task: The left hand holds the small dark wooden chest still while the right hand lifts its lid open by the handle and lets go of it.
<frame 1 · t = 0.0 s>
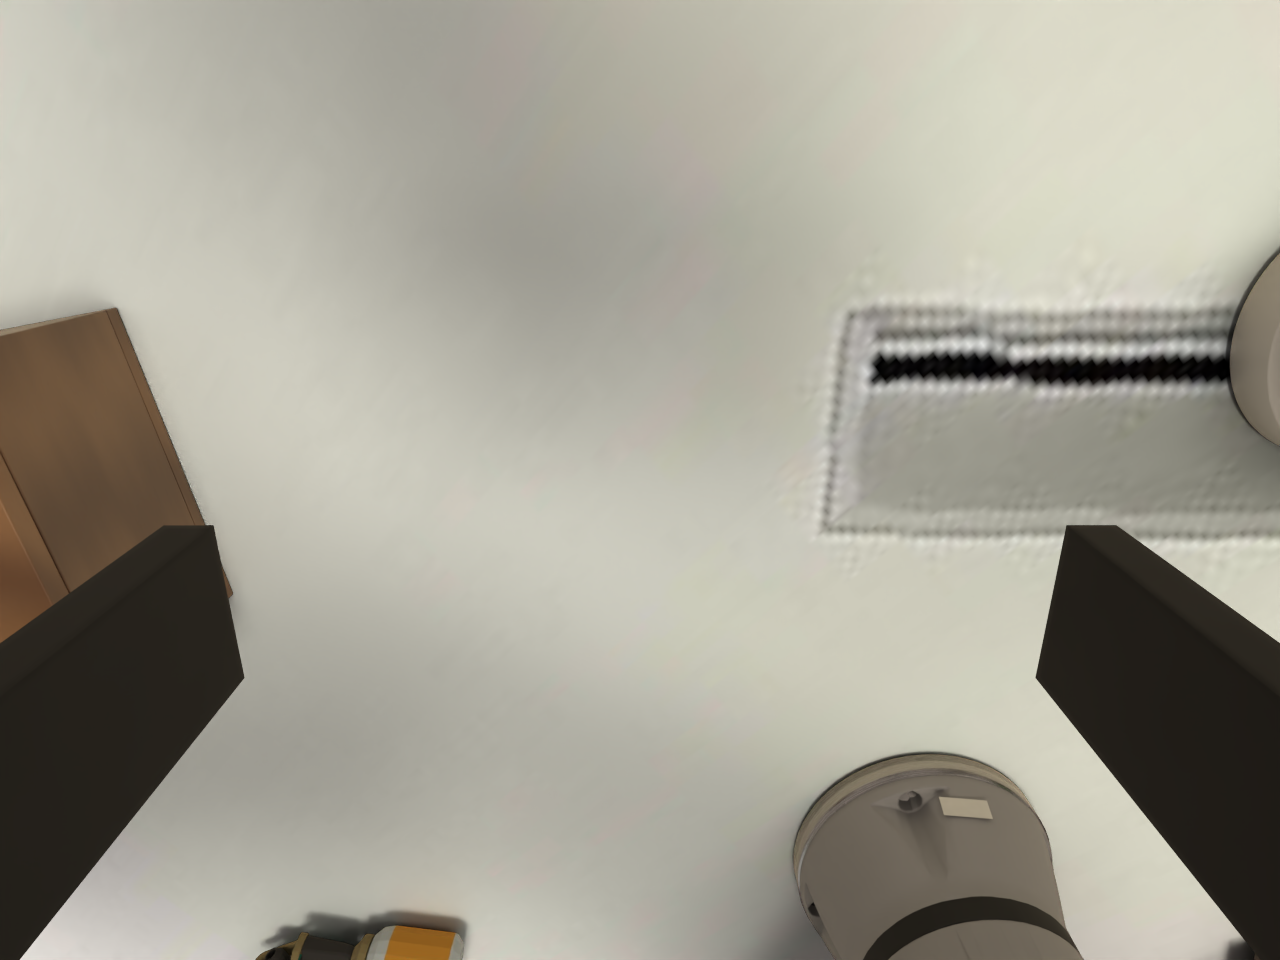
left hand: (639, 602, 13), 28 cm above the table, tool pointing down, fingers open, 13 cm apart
chest: (95, 475, 42), on the table
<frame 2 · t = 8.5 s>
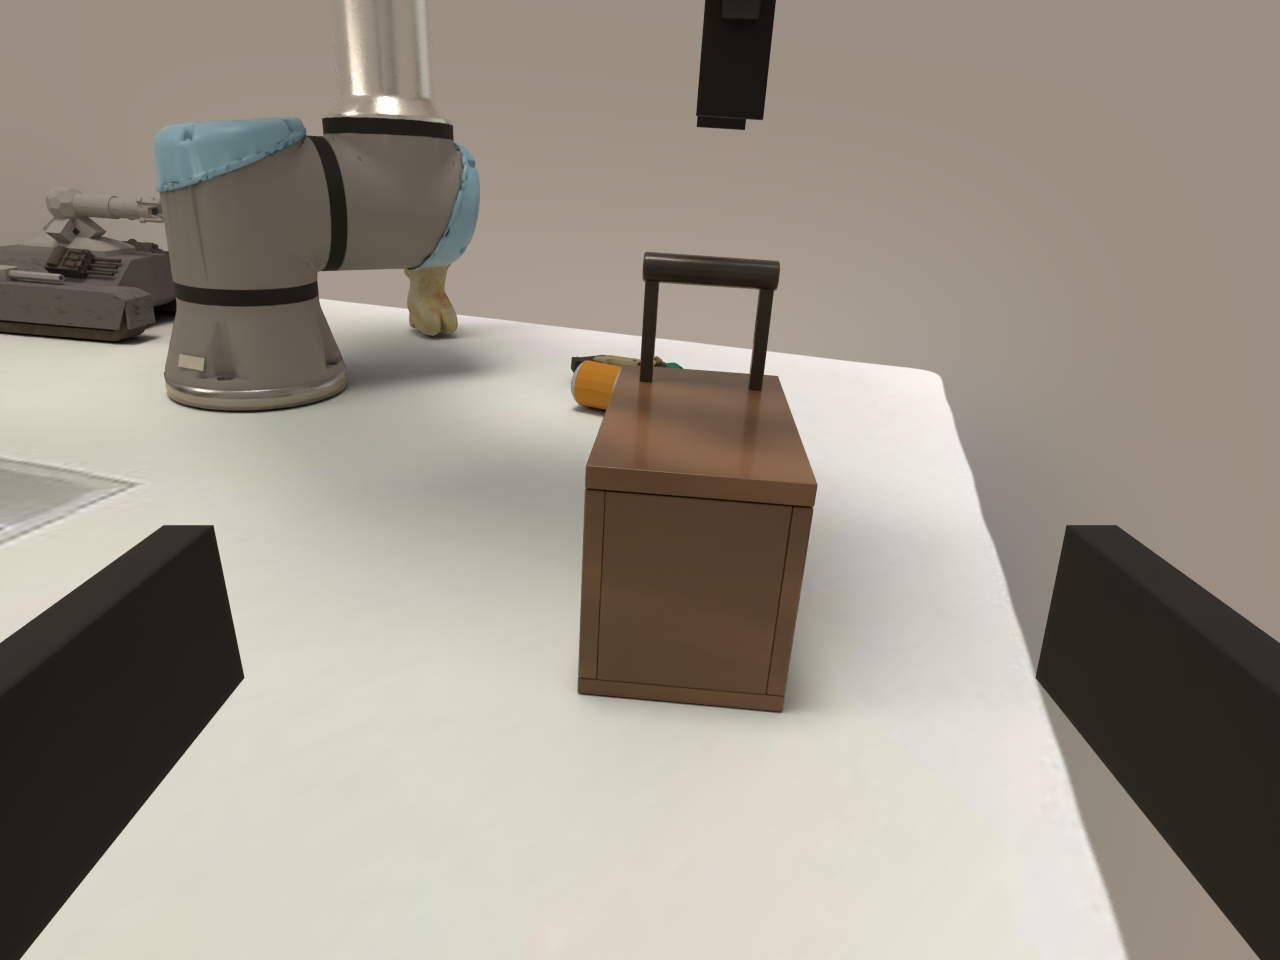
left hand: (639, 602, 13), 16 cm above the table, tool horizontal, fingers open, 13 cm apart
toy: (92, 319, 96), on the table
sculpture: (432, 333, 100), on the table
lid: (705, 353, 38), point 14 cm above the table, hinge at 0.0°
chest: (682, 609, 43), on the table
spray gun: (639, 398, 79), on the table
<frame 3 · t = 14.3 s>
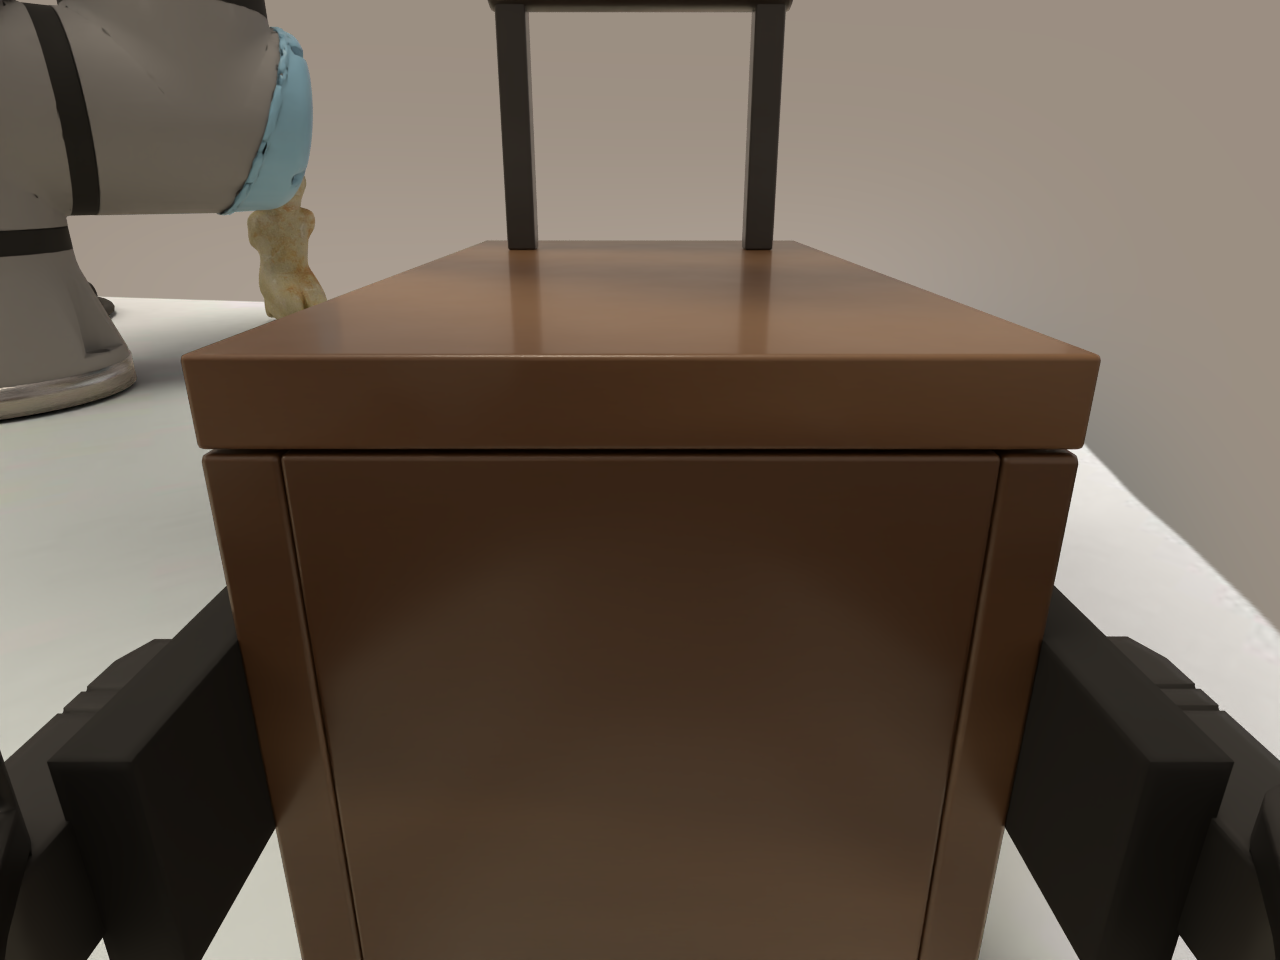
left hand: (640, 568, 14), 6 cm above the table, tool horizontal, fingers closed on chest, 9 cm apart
sculpture: (296, 323, 76), on the table
lid: (640, 105, 15), point 14 cm above the table, hinge at 0.0°
chest: (640, 743, 19), on the table, touching left hand
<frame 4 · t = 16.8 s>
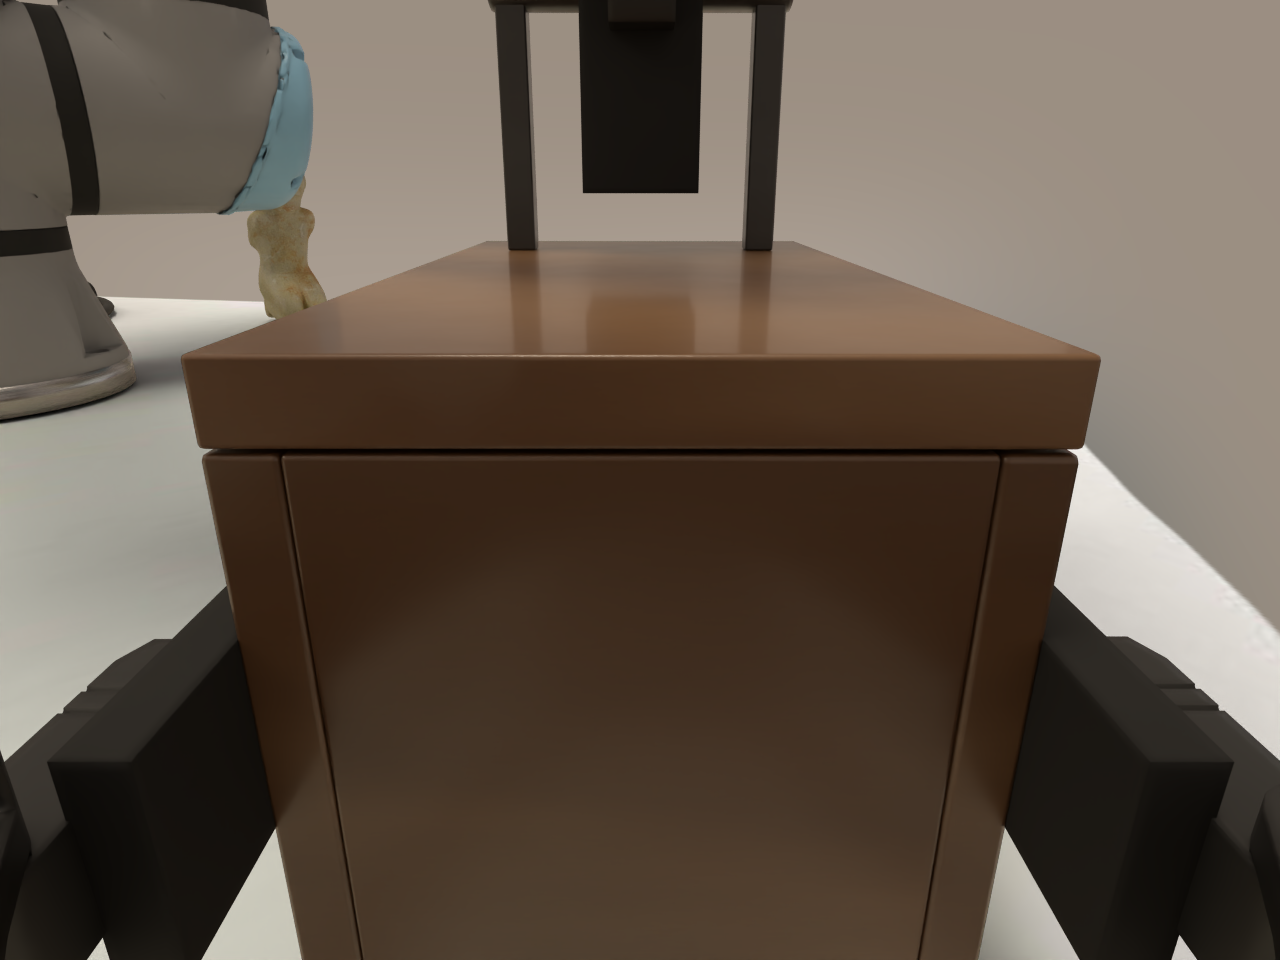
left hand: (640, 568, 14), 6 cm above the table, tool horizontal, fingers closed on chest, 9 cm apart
sculpture: (296, 323, 76), on the table
lid: (640, 106, 15), point 14 cm above the table, hinge at -0.1°, touching right hand
chest: (640, 743, 19), on the table, touching left hand
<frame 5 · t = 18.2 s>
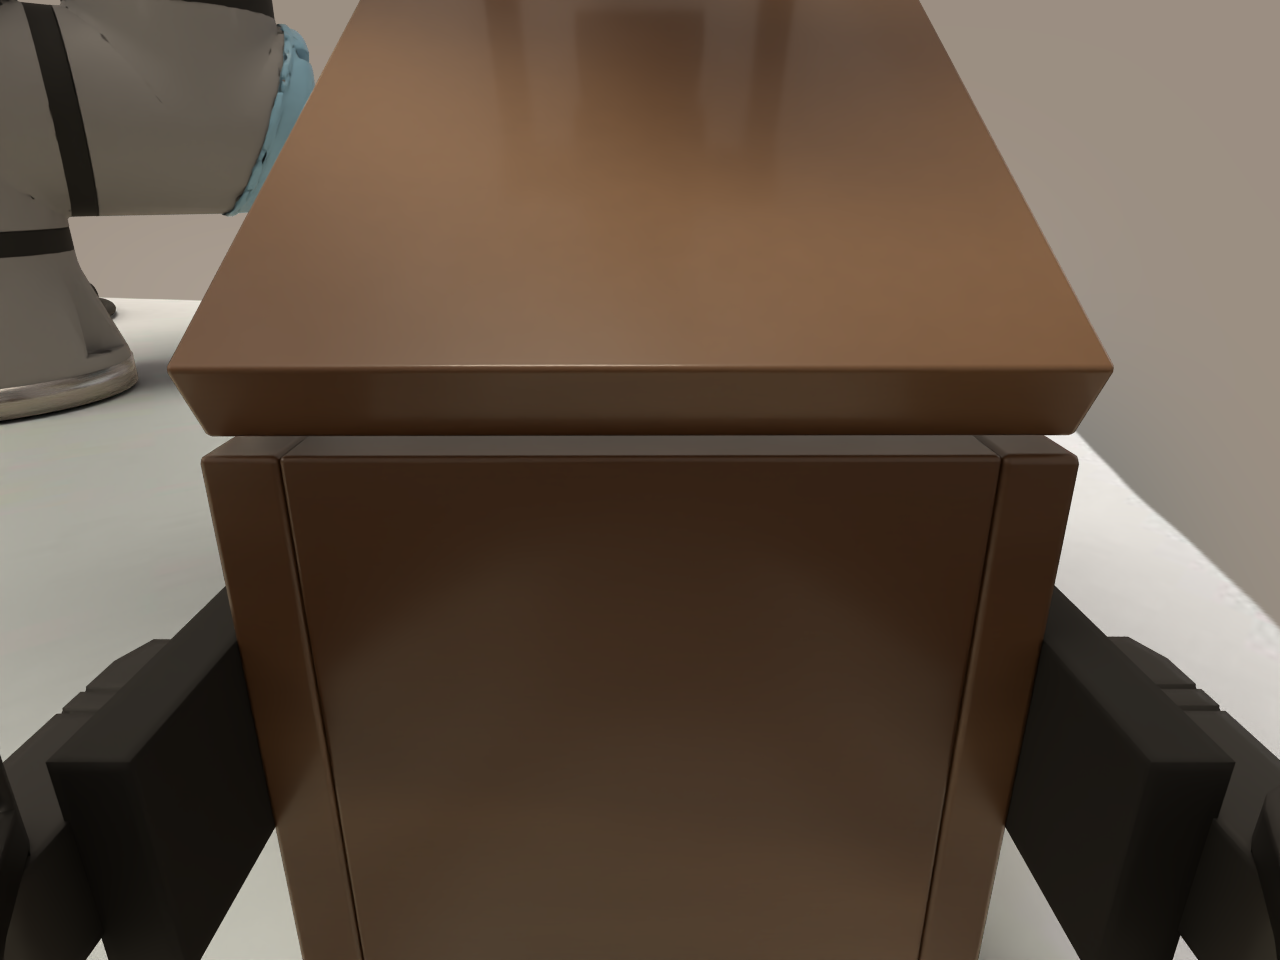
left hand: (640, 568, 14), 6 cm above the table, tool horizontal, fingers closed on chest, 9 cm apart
chest: (640, 741, 19), on the table, touching left hand
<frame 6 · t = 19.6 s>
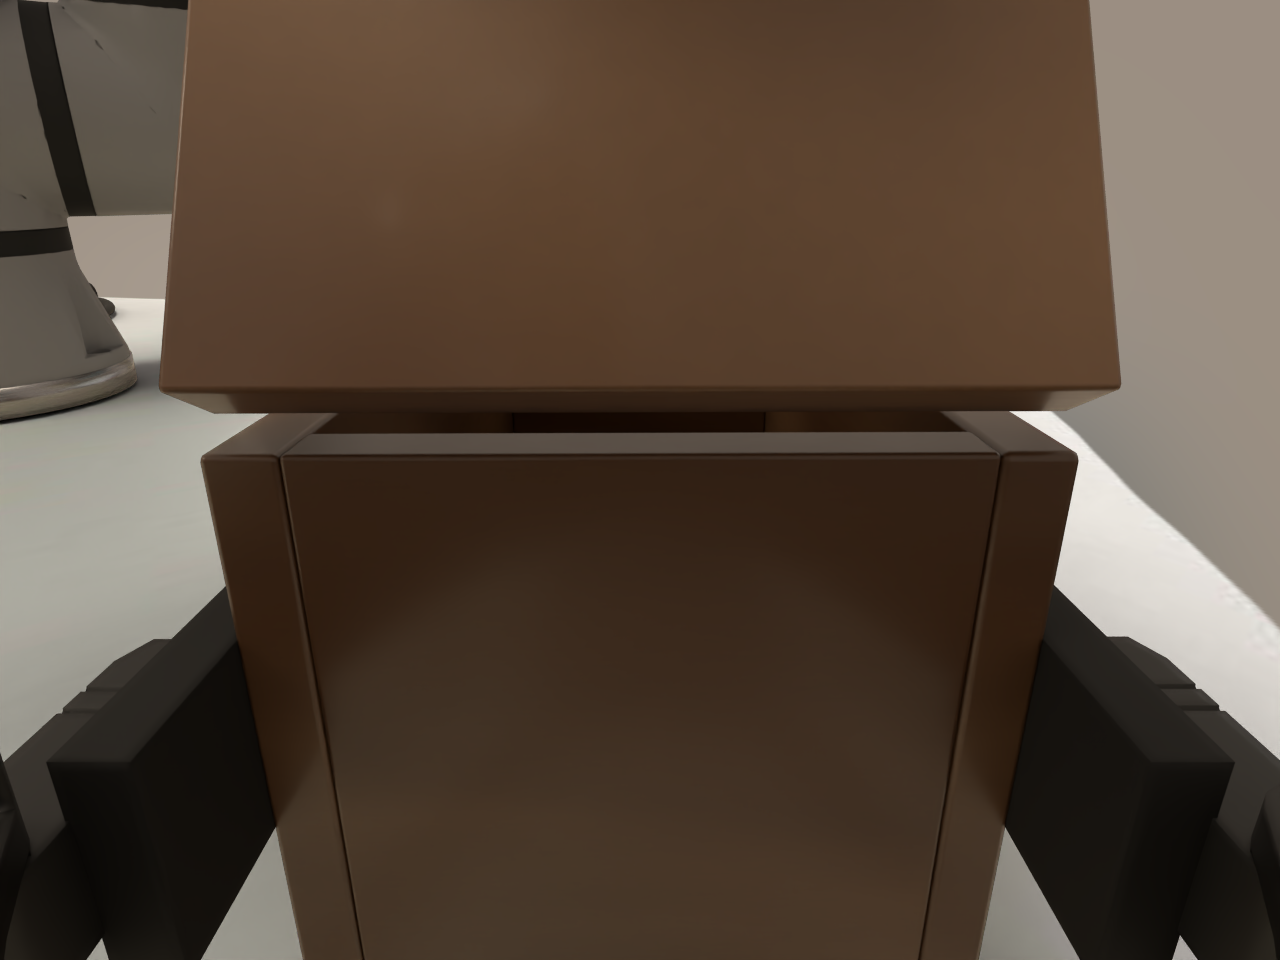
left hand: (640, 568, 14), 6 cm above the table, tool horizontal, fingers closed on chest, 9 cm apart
chest: (640, 741, 19), on the table, touching left hand
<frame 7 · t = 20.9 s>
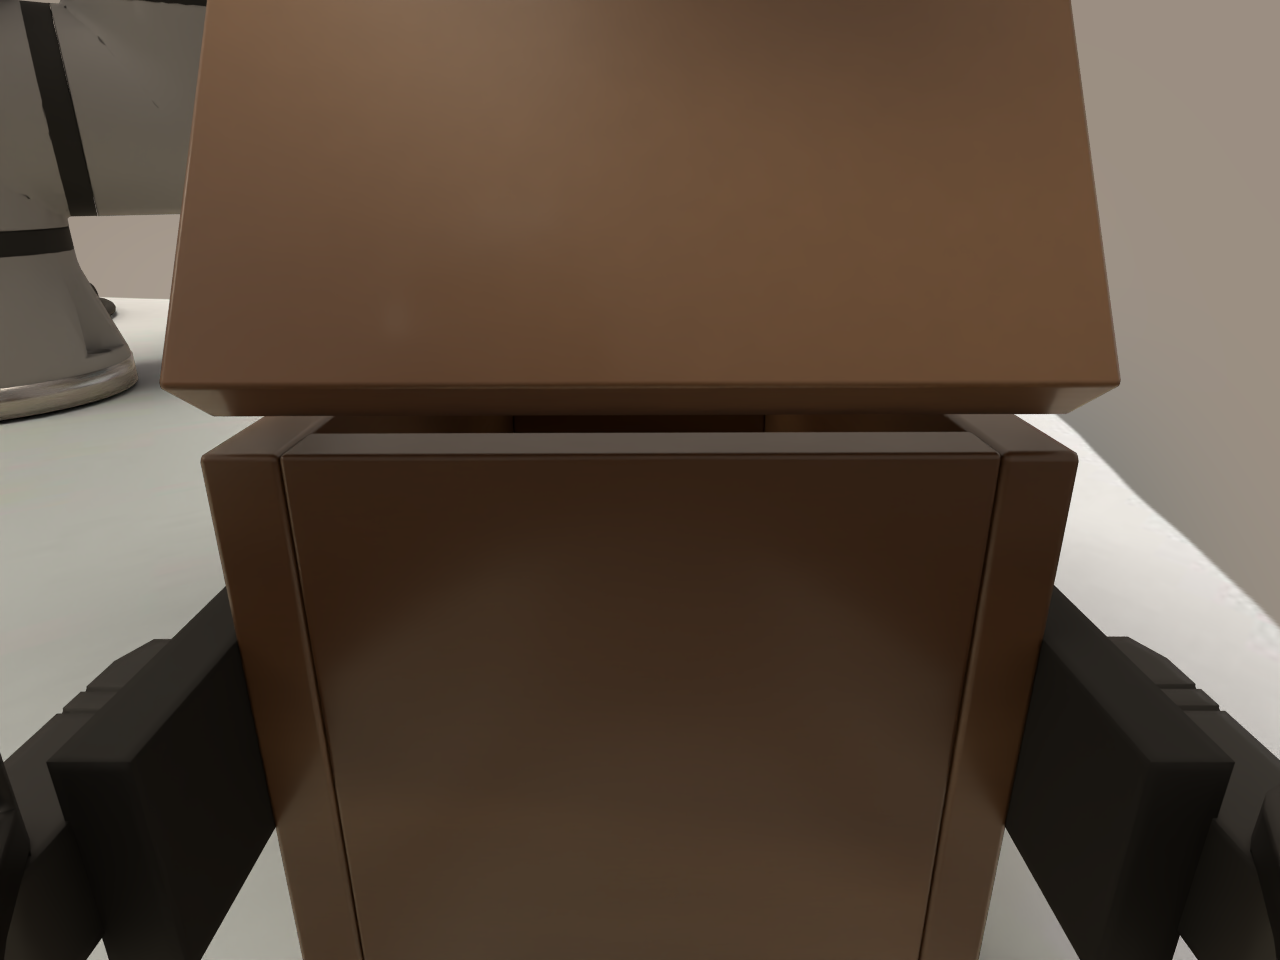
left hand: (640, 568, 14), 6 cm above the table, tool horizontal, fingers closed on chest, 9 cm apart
chest: (640, 741, 19), on the table, touching left hand
when the left hand's fingers open (6 cm above the table, at t = 23.3 s): chest stays where it is, on the table.
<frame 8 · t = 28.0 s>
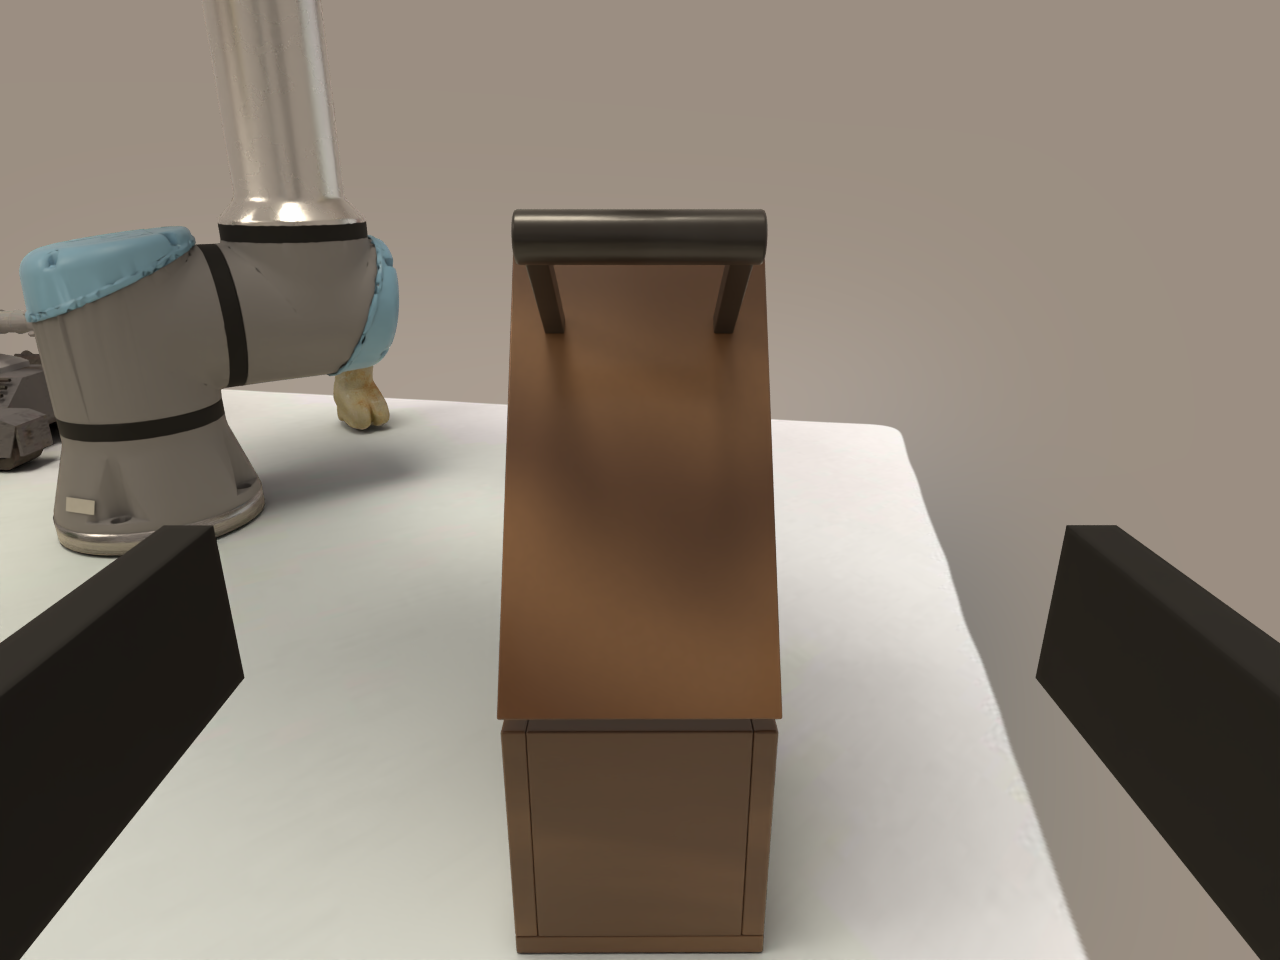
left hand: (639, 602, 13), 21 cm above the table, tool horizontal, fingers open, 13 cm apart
sculpture: (362, 426, 94), on the table
lid: (639, 442, 25), point 19 cm above the table, hinge at 57.3°
chest: (639, 799, 37), on the table
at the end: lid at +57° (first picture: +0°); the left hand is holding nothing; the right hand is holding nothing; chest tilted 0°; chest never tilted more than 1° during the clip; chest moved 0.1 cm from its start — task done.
